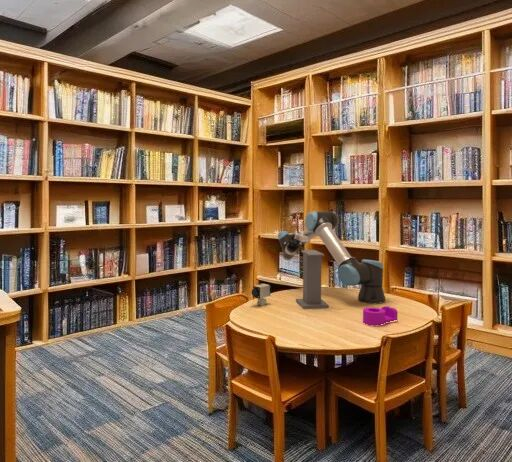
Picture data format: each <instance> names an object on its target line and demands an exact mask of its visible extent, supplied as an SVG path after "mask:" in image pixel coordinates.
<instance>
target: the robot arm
mask: <svg viewBox="0 0 512 462" xmlns="http://www.w3.org/2000/svg"><path fill="white" fill-rule="evenodd" d="M304 221H305V222H304V225H305V228H306V229H304V230H301V231H300V232H298V230H295V231H294V233H291V234H289V231H287V230H283V231H280V232H278V235H277V237H278V241H279V244H280V247H281V249H282V250H281V251H282V258H283V259H284V260H285V261H291V260H293V258H294V257H295V255H296V253H297V251H298V249H299V246H301V245H302V246H305V244H308V243H309V241H310V240H312V239H315V238H316V237H319V238H320V240H321V241H322V243H324V246H325V247H326V249H327V251H328V252H329V253H330V254H331V256H332V258H333V259H334V261H335V262H336V264H337V265H338V266H337V274H338V275H337V276H338V279H339V281H340V283H341V284H343V285H345V286H347V287H349V286H351V287H352V286H353V287H354V286H357V285H358V286H359V285H360V286H361V287H360V289H359V292H358V294H357V301H359V302H361V303H364V302H366V303H365V304H374V303H376V304H381V303H380V302H384V301H385V302H386V296H385V291H384V289H383V284H384V283H383V282H384V281H383V280H384V279H383V277H384V265H383V262H382V261H378V260H373V259H365V258H363V259H361V262H359V261H358V260H357V258H356V257H355V256H352V255H351V254H350V253H349V251H348V250H347V248H346V247H345V245H344V244H343V243H342V241H341V240H340V239H339V237H338V236H337V234H336V233H335V231H334V229H336V228H337V227H338V225H339V222H340V219H339V216H338V215H337V214H336V212H334V211H330V210H322V211H321V210H320V211H319V210H318V211H317V210H316V211H310V212H308V213H307V215H306V216H305V219H304ZM297 233H299V234H302V235H304V236H307V237H308V242H302V241H299V240H297V239H295V238H296V237H297ZM385 302H384V303H385Z"/></svg>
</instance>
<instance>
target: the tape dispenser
mask: <svg viewBox="0 0 512 462" xmlns="http://www.w3.org/2000/svg"><path fill="white" fill-rule="evenodd" d="M398 316H399V315H398V310H397V309H396V308H395V307H393V306H392V307H390V306H388V305H385V306H381V308H379V307H374V306H371V307H369V306H368V307H365V308H363V309H362V323H363V324H364V323H365V324H364V325H366V324H368V325H367V326H370V325H381V324H384V323H386V322H390V321H394V320H397V321H398ZM384 325H385V324H384Z"/></svg>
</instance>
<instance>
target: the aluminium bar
mask: <svg viewBox="0 0 512 462" xmlns="http://www.w3.org/2000/svg"><path fill="white" fill-rule="evenodd" d="M299 233H300V232H297V237H296V238H295V239H297V240H299V241H302V242H308V243H309V241H308V237H307V236H304V235H302V234H299Z"/></svg>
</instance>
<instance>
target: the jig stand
mask: <svg viewBox="0 0 512 462" xmlns="http://www.w3.org/2000/svg"><path fill="white" fill-rule="evenodd" d="M300 253H302V256H303V257H302V298H295V302H296V303H297V305H299V306H300V307H301V309H303V310H307V309H308V310H309V309H313V310H314V309H329V306H330V305H329V304H328V303H327V302H325V300H323V299H322V257H325V254H324V253H323V252H320V251H319V250H316V249H303V250H302V249H301V250H300Z"/></svg>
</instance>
